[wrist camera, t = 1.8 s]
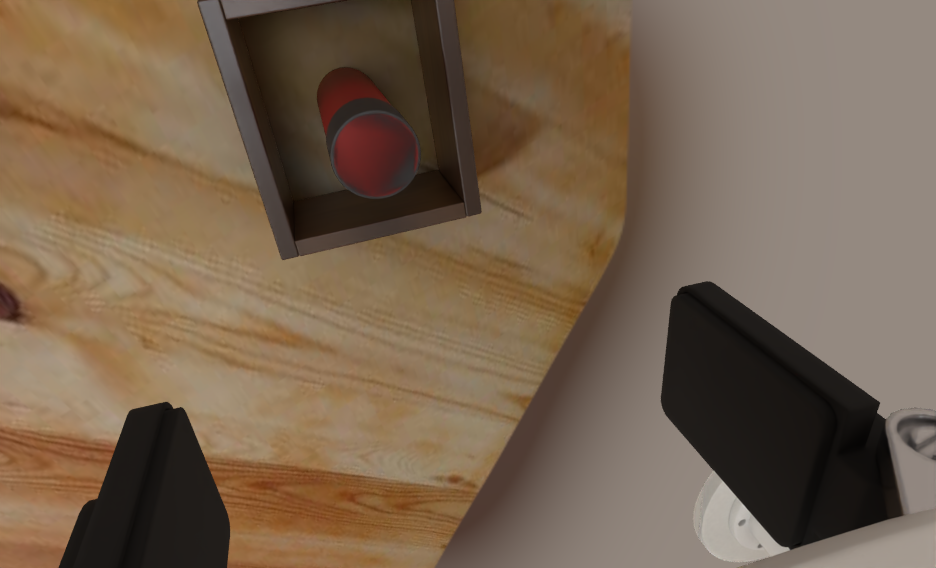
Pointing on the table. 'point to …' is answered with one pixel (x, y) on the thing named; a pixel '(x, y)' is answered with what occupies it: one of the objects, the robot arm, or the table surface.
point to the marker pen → (366, 136)
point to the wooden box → (343, 211)
